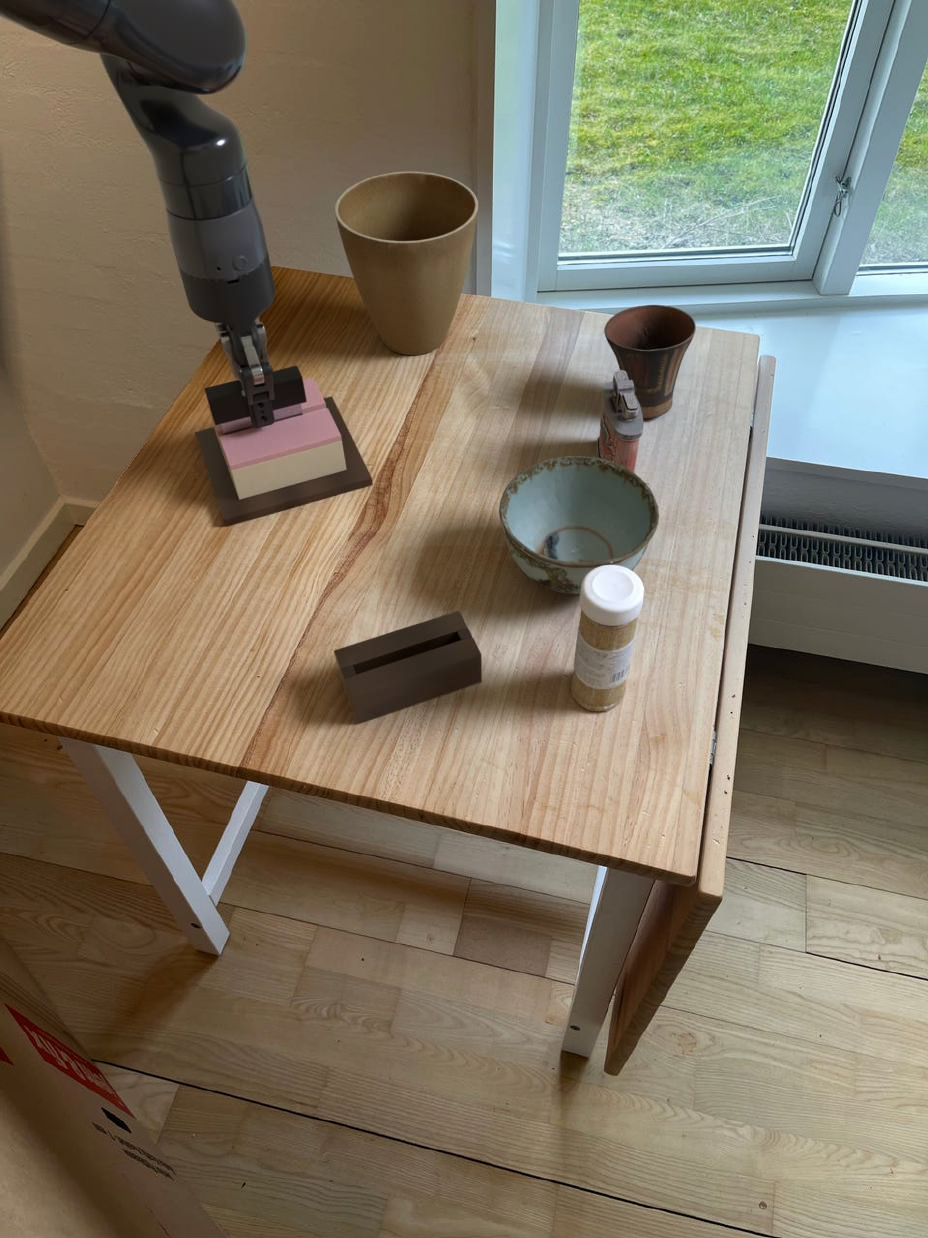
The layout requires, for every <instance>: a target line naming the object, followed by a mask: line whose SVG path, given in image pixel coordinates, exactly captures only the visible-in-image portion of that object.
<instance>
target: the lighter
mask: <svg viewBox="0 0 928 1238" xmlns="http://www.w3.org/2000/svg"><path fill="white" fill-rule="evenodd" d="M601 406H602V410H601V415H600V422H599V427H600V430H599V436H598V437H597V439H596V445H595V448H596V449H595V450H596V454H595V455H596V458H601V459H604V460H608V461H611V462H614V463H616V464H618V465H621V466H623V467H625V468H627V469H629V470H630V471H632V472H633V473H634V474H636V465H637V458H638V451H639V445H640V439H641V438H642V437H643V433H644V418H643V415H642V411H641V407H640V404H639V402H638V400H637V398H636V396H635V391H634V383H633V380H629V379H628V377H627V374H626V372H625V371H623V370H620V369H619V370H615V371H614V372H613V377H612V380H611V381H608V382H606V383H605V384H604V385H603V386H602V391H601Z"/></svg>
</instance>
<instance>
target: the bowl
mask: <svg viewBox="0 0 928 1238" xmlns="http://www.w3.org/2000/svg"><path fill="white" fill-rule="evenodd" d="M498 514H499V520H500V523H501V526H502V528H503V532H504V538H505V541H506V544H507V547H508V550H509V552H510V555H511V557H512V558H513V560H514V561H515V563H516V564H517V566H518V567H519V568H520V569H521V571H522V572H523V573H524V574H525V575H526V576H527V577H528V578H530V579H531V580H532V581H533V582H535V583H536V584H539V585H540V586H542V587H545V588H546V589H549V590H552V591H554V592H557V593H562V594H567V595H580V591H581V585H582V581H583V579H584V577H585V576H586V575H587V574H588V573H589V572H590V571H591V570H593V569H595V568H597V567H600V566H603V565H618V566H622V567H625V568H628V569H630V570H631V571H633V570H634V569H635V568H636V567H637V566H638V564H639V563H640V561H641V560H642V558H643V556H644V555H645V553H646V552H647V549H648V546H649V544H650V542H651V540H652V538H653V537H654V535H655V533H656V532H657V528H658V526H659V520H660V512H659V506H658V503H657V500H656V498H655V495H654V493H653V491H652V490H651V488H650V487H649V486H648V484H647V483H646V482H645V481H644V480H643V479H642V478H641V477H640V476H639V475H637V474H636V473H635V474H634V473H633V472H632V471H630V470H629V469H627V468H625V467H623V466H621V465H618V464H616V463H614V462H611V461H608V460H604V459H601V458H597V457H594V456H584V455H565V456H558V457H553V458H552V457H551V458H549V459H545V460H542V461H539V462H536V463H534V464H532V465H530V466H528V467H525V468H524V469H523V470H521V471H520V472H518V473H517V474H516V475H515V476H514V477H513V478H512V479H511V480H510V481H509V483H508V484H507V485H506V487H505V489H504V491H503V492H502V495H501V498H500V501H499V509H498Z"/></svg>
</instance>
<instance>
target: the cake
mask: <svg viewBox="0 0 928 1238" xmlns="http://www.w3.org/2000/svg"><path fill="white" fill-rule="evenodd" d="M219 439H220V442H221V445H222V449H223V452H224V456H225V459H226V463H227V466H228V469H229V473H230V475H231V478H232V481H233V484H234V487H235V490H236V492H237V495H238V498H239V500H241V499H244V498H248V497H251V496H255V495H258V494H262V493H266V492H269V491H273V490H276V489H280V488H283V487H287V486H291V485H294V484H298V483H301V482H305V481H308V480H312V479H316V478H319V477H323V476H326V475H330V474H333V473H337V472H341V471H344V470H346V464H345V458H344V452H343V445H342V439H341V435H340V432H339V430H338V428H337V426H336V424H335V422H334V420H333V418H332V416H331V414H330V412H329V410H328V408H327V409H323V410H319V411H315V412H312V413H308V414H304V415H300V416H296V417H293V418H289V419H285V420H281V421H278V422H274V423H273V424H272V425H269V426H265V427H261V428H251V429H247V430H243V431H240V432H236V433H232V434H228V435H225V436H221V437H219Z"/></svg>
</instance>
